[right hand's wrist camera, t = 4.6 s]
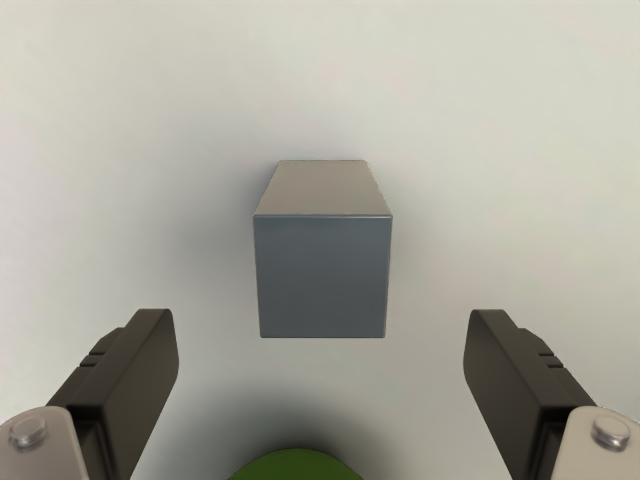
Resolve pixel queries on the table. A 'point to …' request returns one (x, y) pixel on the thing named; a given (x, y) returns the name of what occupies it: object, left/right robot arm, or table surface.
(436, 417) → the table surface
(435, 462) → the table surface
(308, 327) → the block
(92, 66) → the table surface
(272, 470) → the vase
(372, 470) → the table surface
